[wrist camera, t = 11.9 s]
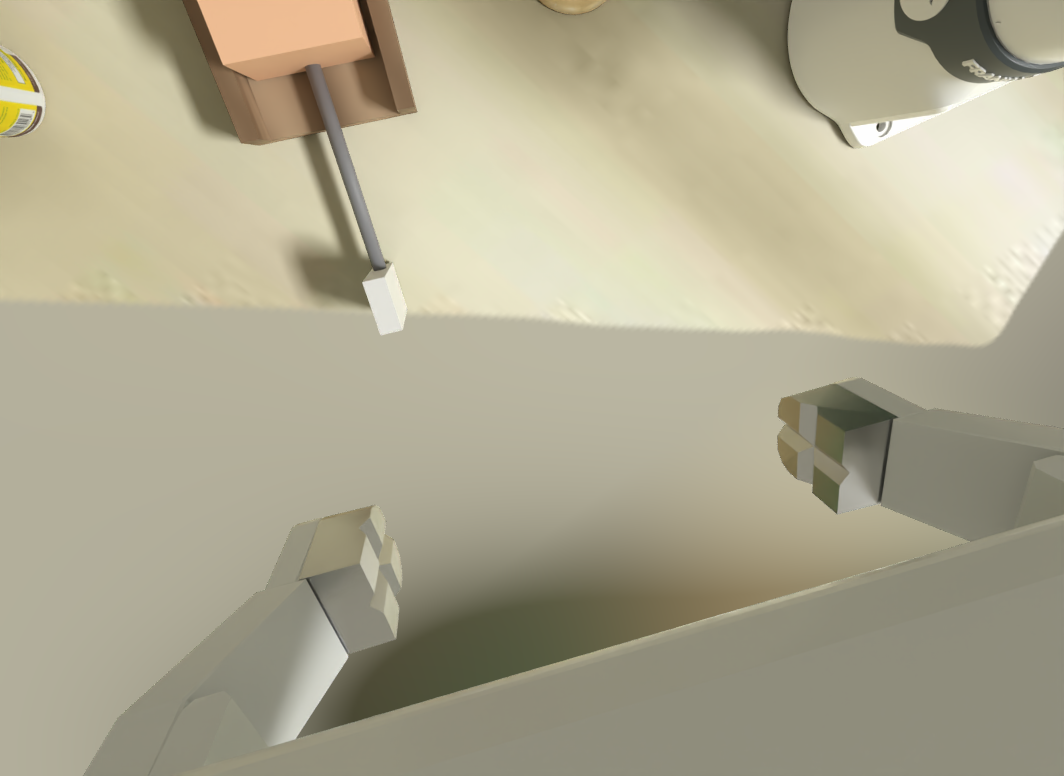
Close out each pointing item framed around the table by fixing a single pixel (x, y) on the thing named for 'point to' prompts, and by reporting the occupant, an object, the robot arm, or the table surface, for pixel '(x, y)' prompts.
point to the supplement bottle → (19, 97)
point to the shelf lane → (290, 99)
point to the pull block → (309, 45)
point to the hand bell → (572, 5)
